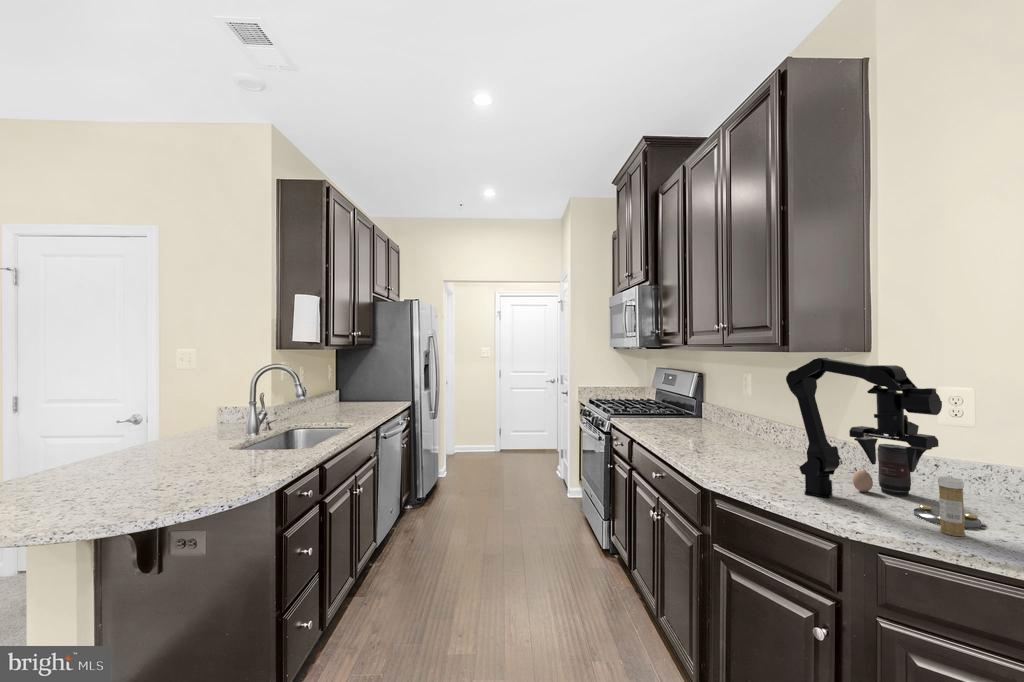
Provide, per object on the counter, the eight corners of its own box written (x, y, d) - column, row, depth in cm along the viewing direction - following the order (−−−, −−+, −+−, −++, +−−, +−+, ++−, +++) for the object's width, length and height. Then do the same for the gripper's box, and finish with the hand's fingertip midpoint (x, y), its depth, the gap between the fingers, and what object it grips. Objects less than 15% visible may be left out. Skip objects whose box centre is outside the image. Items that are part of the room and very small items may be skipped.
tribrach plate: (915, 521, 120) (915, 514, 120) (912, 507, 130) (912, 501, 130) (985, 533, 112) (985, 525, 112) (976, 518, 122) (976, 511, 122)
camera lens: (918, 498, 139) (917, 448, 139) (888, 496, 140) (886, 447, 141) (901, 490, 147) (900, 443, 147) (873, 488, 148) (871, 442, 149)
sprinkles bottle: (967, 534, 111) (965, 479, 111) (962, 538, 108) (960, 482, 109) (942, 528, 115) (940, 475, 115) (937, 532, 112) (935, 477, 112)
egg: (864, 489, 148) (863, 468, 148) (877, 494, 143) (876, 472, 143) (848, 489, 148) (848, 468, 148) (861, 494, 143) (860, 472, 143)
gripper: (950, 413, 119) (952, 473, 118) (872, 406, 136) (874, 458, 136) (923, 415, 115) (926, 477, 114) (847, 407, 132) (849, 461, 132)
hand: (892, 468), depth 124 cm, fingers open, 9 cm apart
